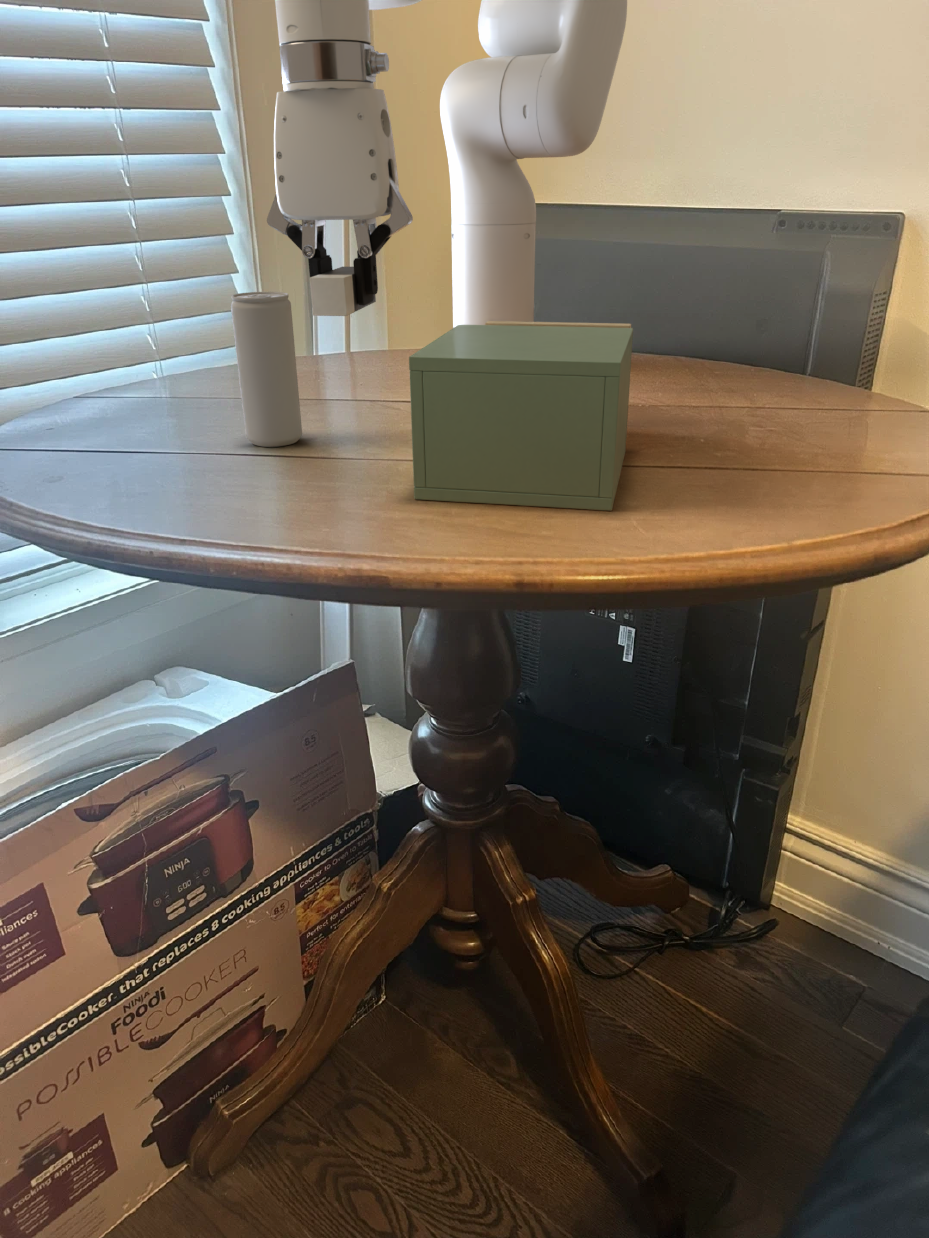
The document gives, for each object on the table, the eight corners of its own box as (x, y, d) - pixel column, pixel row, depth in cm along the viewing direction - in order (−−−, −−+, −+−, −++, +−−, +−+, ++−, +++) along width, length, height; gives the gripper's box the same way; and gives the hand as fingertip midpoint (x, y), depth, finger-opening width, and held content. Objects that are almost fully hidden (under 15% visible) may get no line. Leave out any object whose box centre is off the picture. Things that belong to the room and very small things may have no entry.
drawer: (497, 399, 90) (497, 314, 86) (628, 403, 87) (634, 316, 84) (455, 448, 74) (453, 346, 70) (614, 455, 71) (621, 350, 68)
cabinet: (459, 445, 78) (458, 324, 74) (625, 452, 75) (633, 328, 71) (413, 499, 65) (408, 356, 61) (611, 511, 62) (620, 362, 58)
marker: (344, 301, 89) (341, 266, 88) (376, 302, 89) (373, 266, 87) (312, 315, 82) (309, 277, 80) (347, 316, 81) (344, 277, 80)
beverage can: (290, 449, 77) (276, 298, 72) (237, 447, 78) (219, 298, 73) (310, 435, 82) (298, 291, 77) (259, 432, 83) (244, 291, 77)
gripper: (434, 71, 79) (441, 298, 87) (254, 79, 82) (277, 297, 90) (411, 64, 72) (421, 310, 80) (216, 73, 75) (245, 308, 84)
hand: (345, 301), depth 85 cm, fingers closed on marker, 3 cm apart
